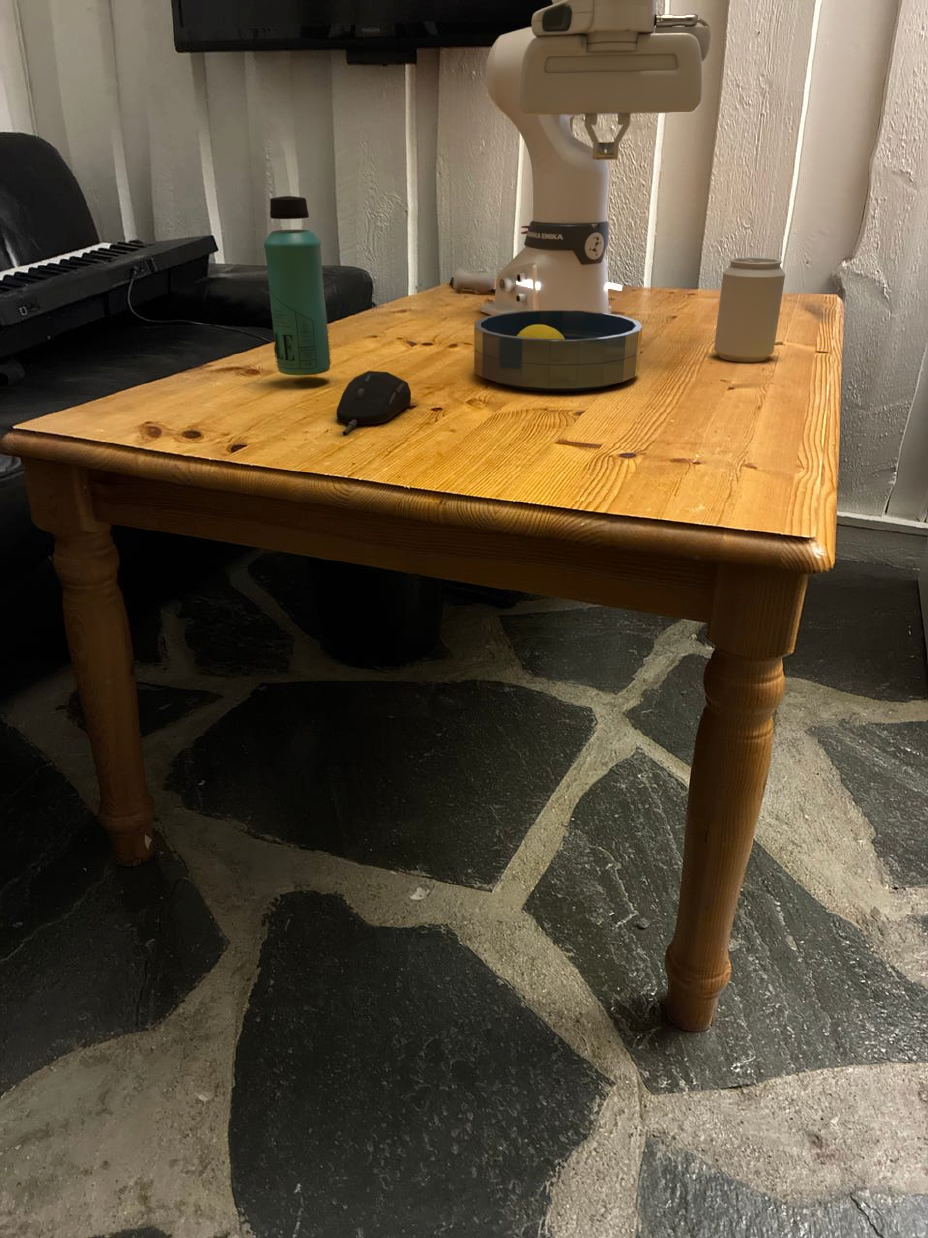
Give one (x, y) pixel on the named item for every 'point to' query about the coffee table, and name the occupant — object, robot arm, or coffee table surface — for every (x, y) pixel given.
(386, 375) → the gaming mouse
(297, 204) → the beverage bottle
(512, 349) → the bowl
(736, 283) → the can
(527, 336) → the lemon
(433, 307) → the coffee table surface
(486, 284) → the smooth white sculpture
